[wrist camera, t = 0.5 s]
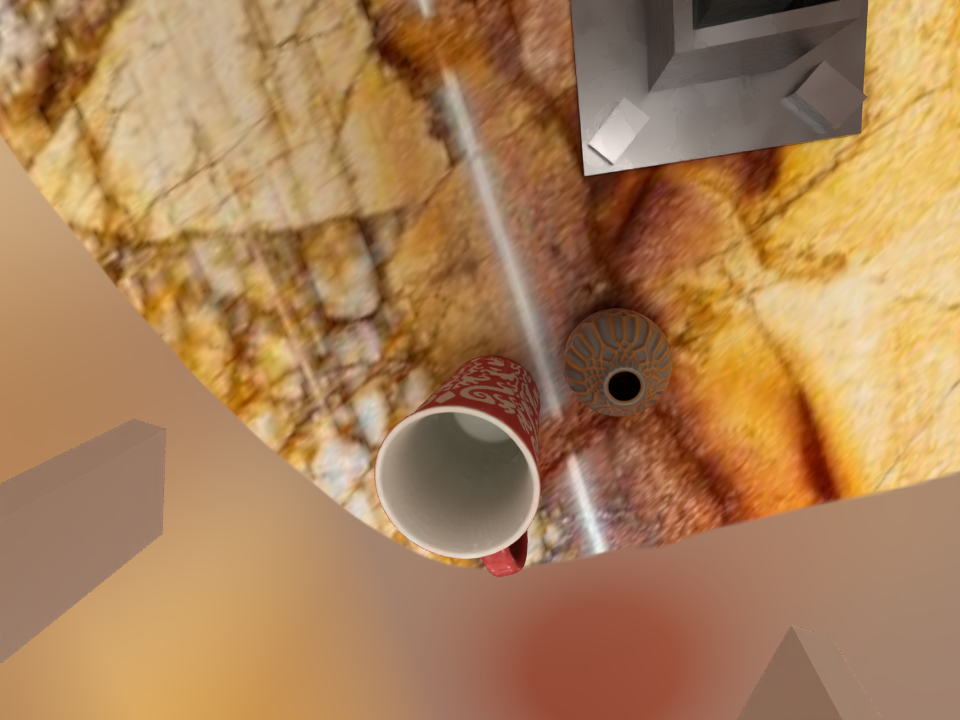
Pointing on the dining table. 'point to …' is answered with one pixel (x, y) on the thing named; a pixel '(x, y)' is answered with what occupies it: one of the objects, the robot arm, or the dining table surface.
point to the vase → (617, 362)
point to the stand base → (713, 80)
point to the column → (732, 11)
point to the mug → (467, 466)
